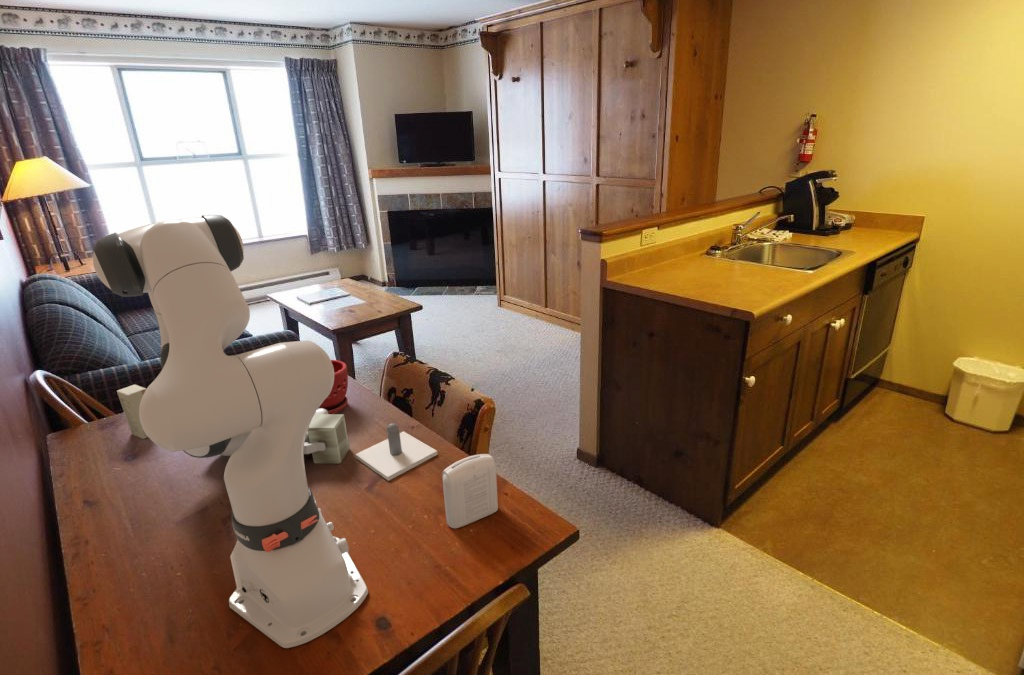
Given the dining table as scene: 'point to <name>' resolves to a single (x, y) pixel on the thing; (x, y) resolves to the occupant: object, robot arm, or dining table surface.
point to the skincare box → (132, 408)
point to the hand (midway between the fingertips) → (332, 436)
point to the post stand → (395, 453)
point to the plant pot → (337, 389)
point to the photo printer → (470, 490)
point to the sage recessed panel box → (329, 437)
